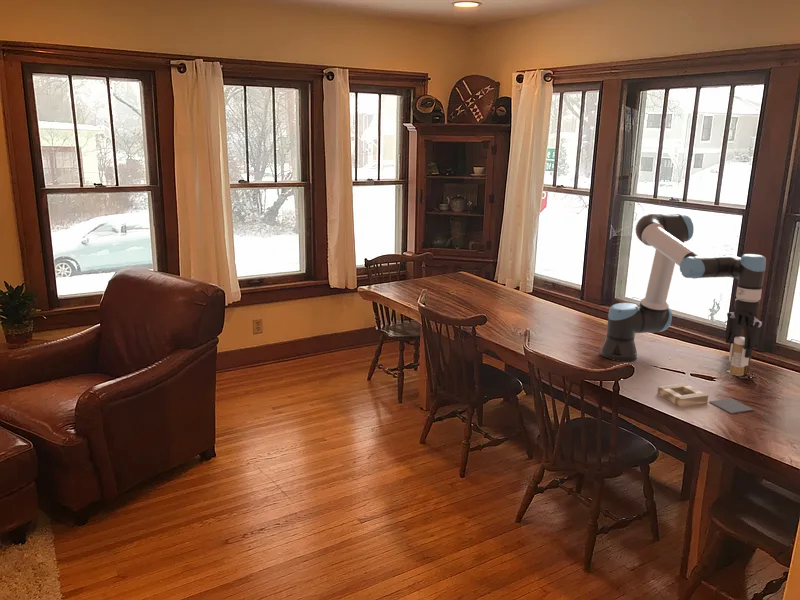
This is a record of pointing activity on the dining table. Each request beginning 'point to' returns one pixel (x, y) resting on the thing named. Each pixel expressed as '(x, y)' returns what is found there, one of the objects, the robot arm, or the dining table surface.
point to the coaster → (731, 406)
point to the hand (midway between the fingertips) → (738, 363)
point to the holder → (689, 397)
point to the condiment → (745, 370)
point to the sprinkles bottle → (737, 357)
